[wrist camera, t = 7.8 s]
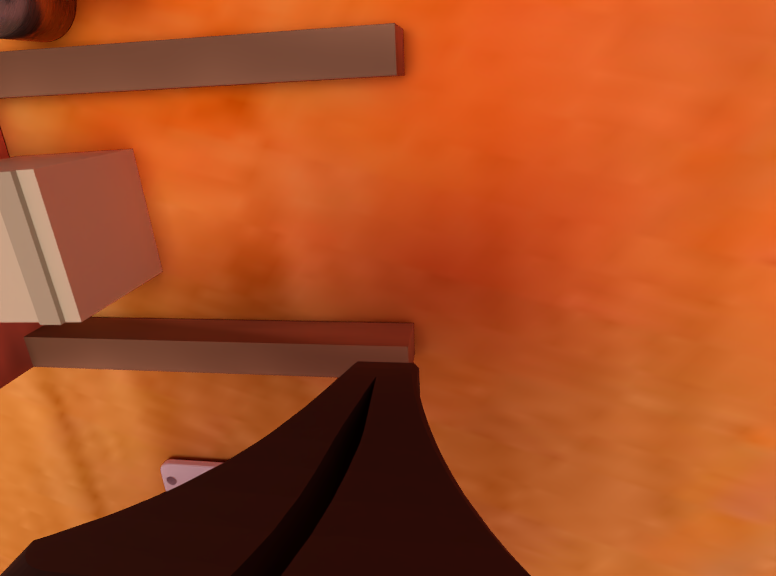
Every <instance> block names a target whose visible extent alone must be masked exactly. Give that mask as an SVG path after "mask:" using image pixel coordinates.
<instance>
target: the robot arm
mask: <svg viewBox="0 0 776 576" xmlns="http://www.w3.org/2000/svg"><path fill="white" fill-rule="evenodd" d="M161 474H162V478H163V482H164V486H165V490H166V492H164V493H162V494H160V495H157V496H155V497H153V498H151V499H148V500H146V501H143V502H141V503H138V504H136V505H134V506H131V507H129V508H126V509H124V510H121V511H119V512H116V513H113V514H111V515H108V516H105V517H103V518H100V519H97V520H94V521H91V522H88V523H85V524H82V525H79V526H76V527H73V528H70V529H67V530H64V531H62V532H59V533H56V534H53V535H50V536H47V537H43V538H40V539H37V540H34V541H33V542H32V543H31V544H30V545H29V546H28V547H27V548H26V549H25V550H24V551H23V552H22V553H21V554H20V555H19V556H18V557H17V558H16V559H15V560H14V561H13V563H12V564H11V565H10V566H9V567H8V568H7V569H6V570H5V571H4V572H3V573H2V574H1V575H0V576H531V575H530V574H529V573H528V572H527V571H526V570H525V569H524V568H523V567H522V566H521V565H520V564H519V563H518V562H517V561H516V560H515V558H514V557H513V556H512V555H511V554H510V553H509V552H508V551H507V549H506V548H505V547H504V546H503V545H502V544H501V542H500V541H499V540H498V539H497V538H496V536H495V535H494V534H493V533H492V532H491V531H490V529H489V528H488V527H487V525H486V524H485V522H484V521H483V520H482V518H481V517H480V516H479V514H478V513H477V511H476V510H475V509H474V507H473V506H472V505H471V503H470V502H469V500H468V499H467V498H466V496H465V495H464V493H463V492H462V490H461V488H460V487H459V485H458V483H457V482H456V480H455V479H454V477H453V475H452V473H451V472H450V470H449V468H448V466H447V464H446V463H445V461H444V459H443V457H442V455H441V453H440V450H439V448H438V446H437V444H436V442H435V439H434V437H433V435H432V432H431V430H430V427H429V425H428V422H427V419H426V416H425V413H424V409H423V406H422V403H421V399H420V383H419V368H418V367H417V366H416V365H415V364H414V363H401V362H368V361H357V362H356V363H355V364H354V365H352V366H351V367H350V368H349V369H348V370H347V371H346V372H345V373H343V374H342V375H341V376H340V377H339V378H338V379H337V380H336V381H335V382H333V383H332V384H331V385H330V386H329V387H328V388H327V389H326V390H324V391H323V392H322V393H321V394H320V395H319V396H317V397H316V398H315V399H314V400H313V401H312V402H310V403H309V404H308V405H307V406H306V407H304V408H303V409H302V410H300V411H299V412H298V413H297V414H295V415H294V416H293V417H291V418H290V419H289V420H287V421H286V422H285V423H283V424H282V425H281V426H280V427H278V428H277V429H276V430H274V431H273V432H271V433H270V434H269V435H267V436H266V437H264V438H263V439H261V440H260V441H258V442H257V443H255V444H254V445H252V446H250V447H249V448H247V449H246V450H244V451H242V452H241V453H239V454H237V455H236V456H234V457H233V458H231V459H229V460H227V461H226V462H224V463H223V462H208V461H192V460H176V459H169V460H166V461H165V462H164V463H163V465H162V466H161ZM173 477H174V478H175V479H174V478H173Z"/></svg>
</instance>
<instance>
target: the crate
mask: <svg viewBox="0 0 776 576" xmlns="http://www.w3.org/2000/svg"><path fill="white" fill-rule="evenodd" d="M161 272H163V271H162V267H161V263H160V259H159V254H158V250H157V246H156V242H155V238H154V234H153V230H152V226H151V222H150V218H149V214H148V210H147V205H146V201H145V197H144V193H143V189H142V185H141V181H140V177H139V173H138V169H137V165H136V161H135V156H134V152H133V149H122V150H106V151H91V152H75V153H60V154H44V155H29V156H17V157H11V158H5V159H0V322H39V324H40V325H62V324H63V323H65V322H83V321H84V320H86V319H87V318H89V317H91V316H92V315H94V314H95V313H97V312H99V311H100V310H102V309H103V308H105V307H107V306H108V305H110V304H111V303H113V302H115V301H116V300H118V299H120V298H121V297H123V296H124V295H126V294H128V293H129V292H131V291H132V290H134V289H136V288H137V287H139V286H140V285H142V284H144V283H145V282H147V281H148V280H150V279H152V278H153V277H155V276H156V275H158V274H160V273H161Z"/></svg>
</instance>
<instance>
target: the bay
mask: <svg viewBox="0 0 776 576" xmlns="http://www.w3.org/2000/svg"><path fill="white" fill-rule="evenodd" d="M404 75H405V72H404V45H403V29H402V28H401V27H399V26H398V25H396V24H395V23H390V24H376V25H363V26H349V27H335V28H321V29H308V30H294V31H280V32H266V33H252V34H239V35H225V36H211V37H197V38H184V39H170V40H156V41H142V42H129V43H115V44H101V45H87V46H73V47H60V48H46V49H32V50H18V51H5V52H0V98H16V97H33V96H51V95H69V94H86V93H104V92H122V91H139V90H157V89H175V88H192V87H210V86H228V85H245V84H263V83H281V82H298V81H316V80H334V79H351V78H369V77H387V76H404ZM5 158H9V155H8V152H7V149H6V146H5V143H4V139H3V136H2V133H1V130H0V159H5ZM414 355H415V349H414V323H378V322H323V321H267V320H212V319H156V318H101V317H89V318H87V319H86V320H84V321H83V322H65V323H63V324H62V325H40V324H39V322H0V388H2V387H3V386H5V385H6V384H8V383H9V382H11V381H12V380H14V379H15V378H17V377H18V376H20V375H22V374H23V373H25V372H26V371H28V370H29V369H31V368H32V367H58V368H86V369H114V370H143V371H171V372H200V373H228V374H257V375H285V376H314V377H340V376H341V375H342V374H343V373H345V372H346V371H347V370H348V369H349V368H350V367H351V366H352V365H354V364H355V363H356V362H357V361H368V362H401V363H413V360H414Z"/></svg>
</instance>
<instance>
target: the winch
mask: <svg viewBox="0 0 776 576" xmlns="http://www.w3.org/2000/svg"><path fill="white" fill-rule="evenodd" d="M75 9H76V0H0V39H12V40H23V41H35V42H50V41H54V40H57V39H58V38H60V37H61V36H63V35H64V34H65V33H66V32H67V31H68V29H69V28H70V26H71V24H72V22H73V19H74V15H75Z"/></svg>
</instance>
